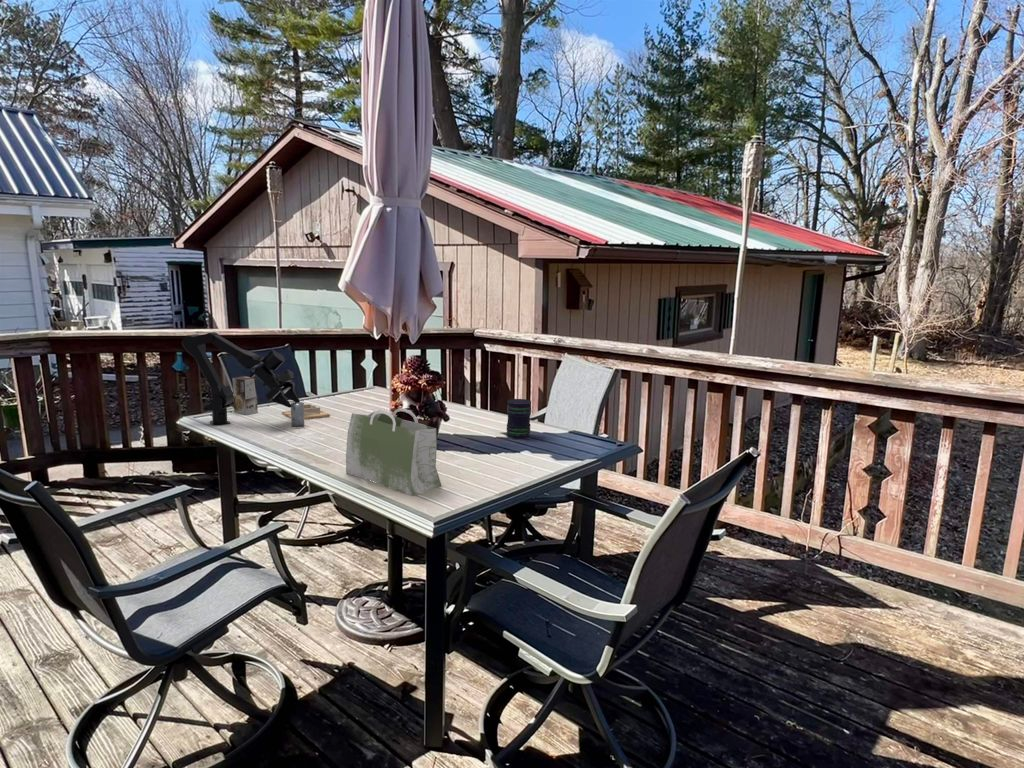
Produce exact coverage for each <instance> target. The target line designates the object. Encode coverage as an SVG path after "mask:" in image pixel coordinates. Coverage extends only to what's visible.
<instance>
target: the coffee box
mask: <svg viewBox="0 0 1024 768" xmlns="http://www.w3.org/2000/svg"><path fill="white" fill-rule="evenodd" d="M257 378H258V377H252V378H250V376H246V375H245V376H244V375H242V376H237V377H232V392H233V393H234V394H233V396H234V399H233V412H234V413H235V412H236V413H237V414H240V415H244V416H246V415H247V416H248V415H253V414H254V415H255V414H258V412H259V410H258V391H257V390H258V388H257V387H258V384H257V381H258V380H257ZM236 413H235V414H236Z"/></svg>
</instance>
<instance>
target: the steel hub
mask: <svg viewBox="0 0 1024 768" xmlns="http://www.w3.org/2000/svg"><path fill="white" fill-rule="evenodd" d="M290 404H291V405H292V407H291V408H290V411H291V419H290V420H291V421H290V422H291V426H292V427H302V428H305V420H304V405H305V403H304V402H303V401H300V402H294V401H292V402H290ZM291 426H290V427H291ZM292 427H291V428H292Z"/></svg>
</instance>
